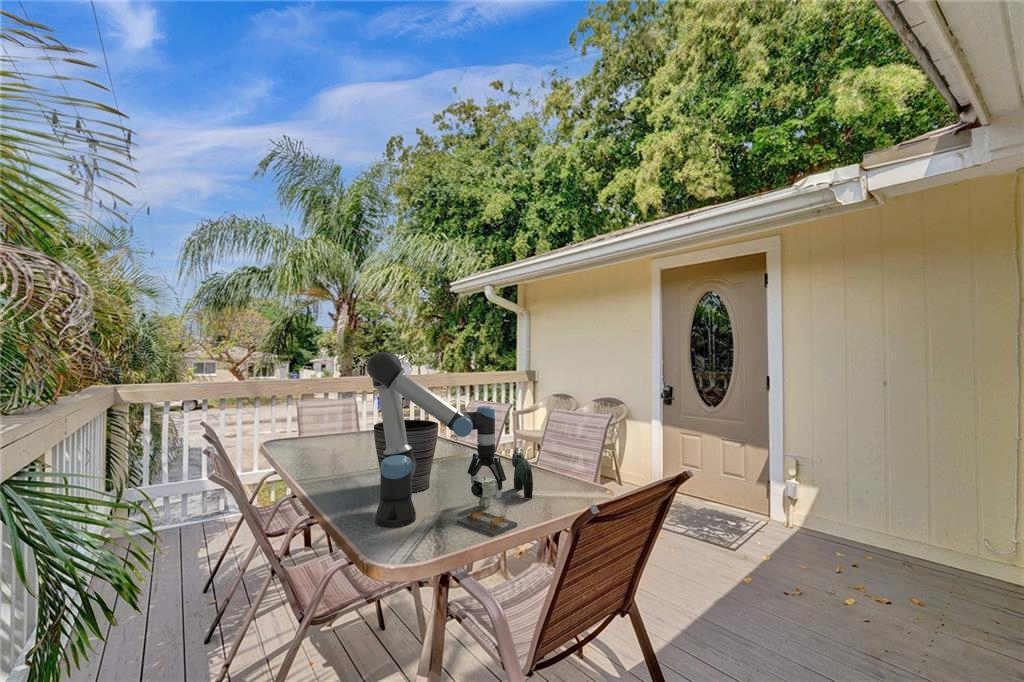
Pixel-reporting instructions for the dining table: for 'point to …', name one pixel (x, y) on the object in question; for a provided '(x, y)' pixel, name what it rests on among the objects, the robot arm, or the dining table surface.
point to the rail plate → (486, 522)
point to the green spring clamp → (522, 474)
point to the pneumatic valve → (484, 490)
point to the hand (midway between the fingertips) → (486, 494)
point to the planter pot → (414, 448)
